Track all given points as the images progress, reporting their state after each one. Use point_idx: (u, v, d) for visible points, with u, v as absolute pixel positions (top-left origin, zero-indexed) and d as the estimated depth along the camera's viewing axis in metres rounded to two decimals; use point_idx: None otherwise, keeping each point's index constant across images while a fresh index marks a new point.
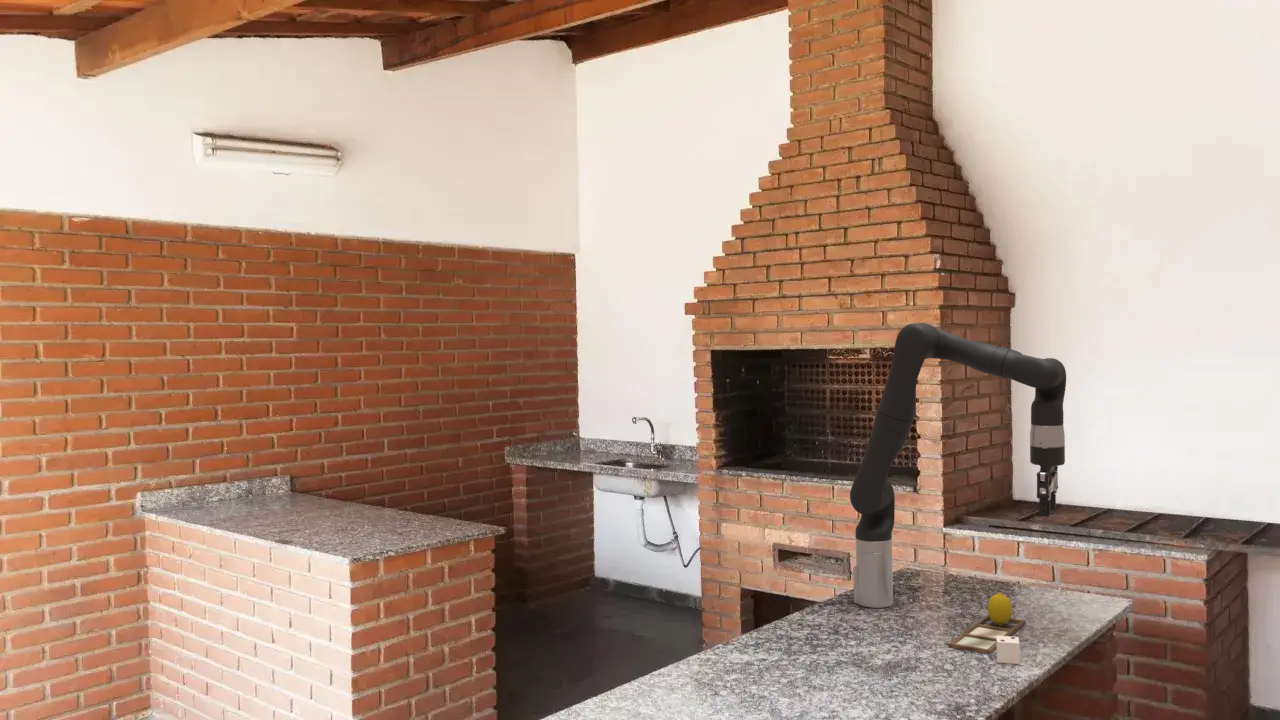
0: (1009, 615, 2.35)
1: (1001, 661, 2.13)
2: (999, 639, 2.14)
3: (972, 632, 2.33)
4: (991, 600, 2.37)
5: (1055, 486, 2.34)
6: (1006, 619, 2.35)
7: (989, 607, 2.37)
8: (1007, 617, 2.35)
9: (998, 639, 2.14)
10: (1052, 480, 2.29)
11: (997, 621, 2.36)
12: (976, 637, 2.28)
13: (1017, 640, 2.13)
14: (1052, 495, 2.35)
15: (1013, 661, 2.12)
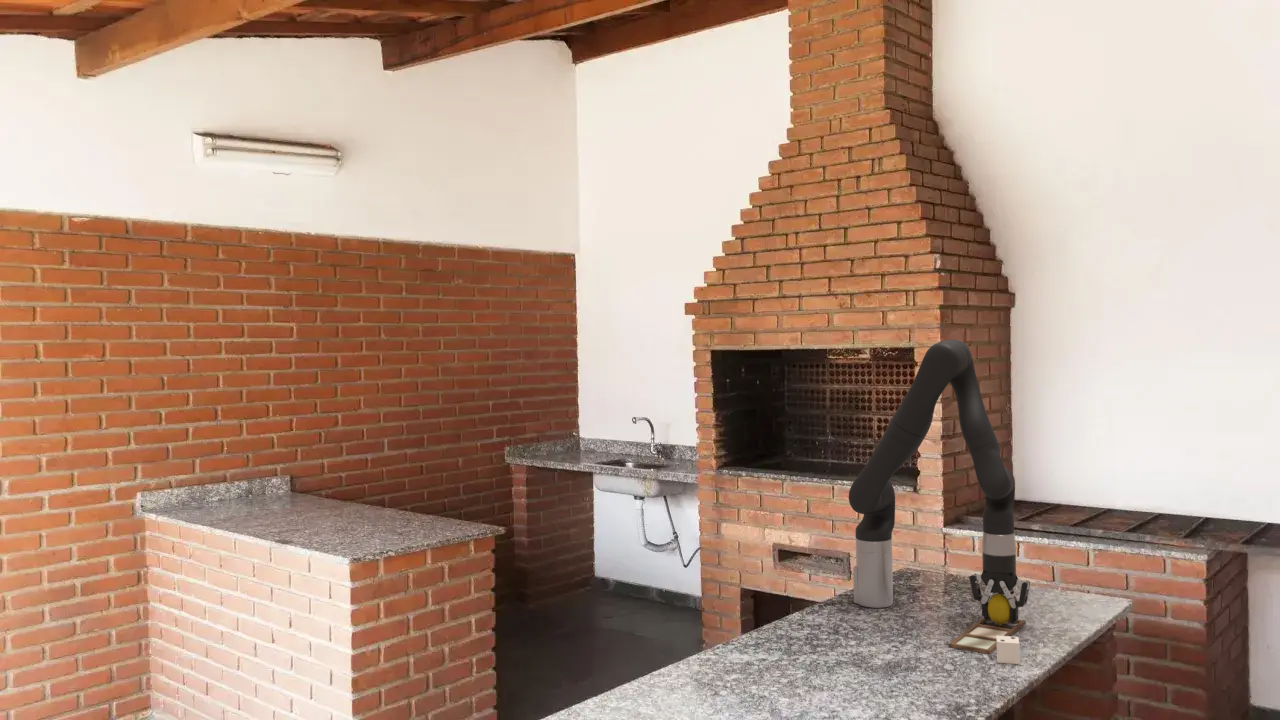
0: (1009, 615, 2.35)
1: (1001, 661, 2.13)
2: (999, 639, 2.14)
3: (972, 632, 2.33)
4: (991, 600, 2.37)
5: (992, 592, 2.40)
6: (1006, 619, 2.35)
7: (989, 607, 2.37)
8: (1007, 617, 2.35)
9: (998, 639, 2.14)
10: None
11: (997, 621, 2.36)
12: (976, 637, 2.28)
13: (1017, 640, 2.13)
14: None
15: (1013, 661, 2.12)
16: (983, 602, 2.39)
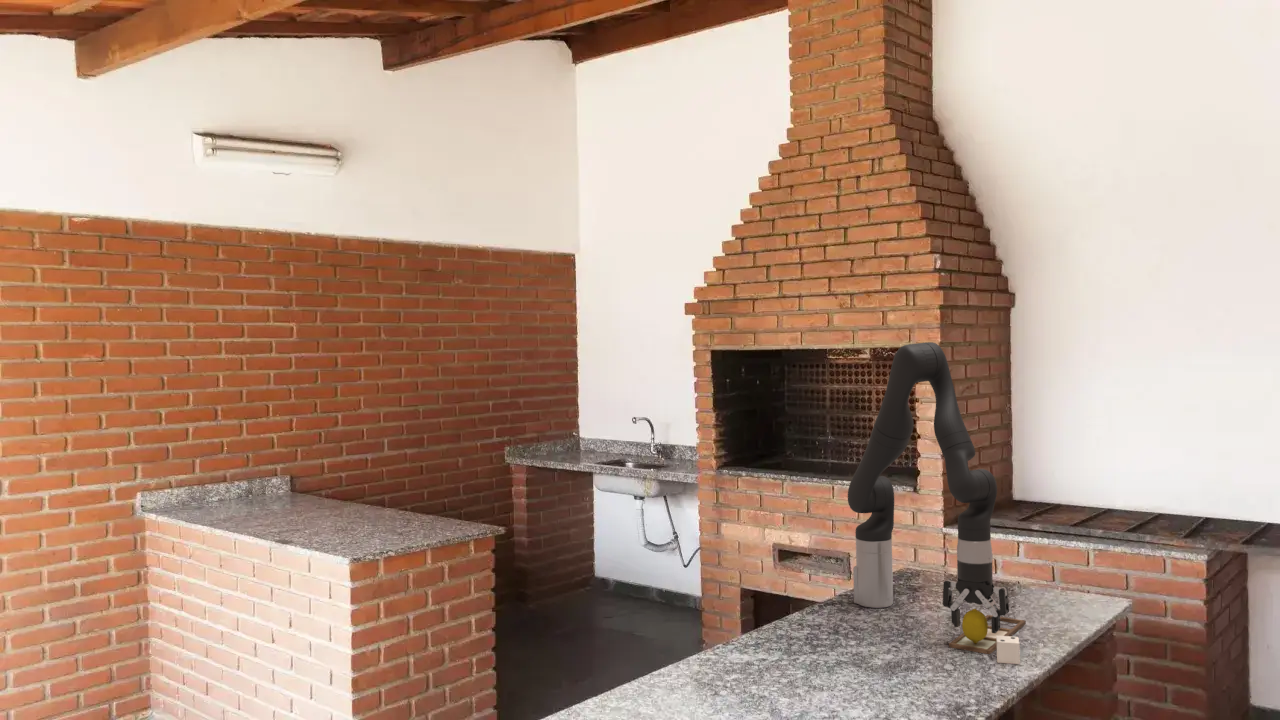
0: (984, 632, 2.22)
1: (1001, 661, 2.13)
2: (999, 639, 2.14)
3: None
4: (965, 616, 2.24)
5: (964, 600, 2.27)
6: (981, 637, 2.22)
7: (963, 624, 2.24)
8: (982, 634, 2.22)
9: (998, 639, 2.14)
10: None
11: (972, 639, 2.23)
12: None
13: (1017, 640, 2.13)
14: (959, 611, 2.27)
15: (1013, 661, 2.12)
16: (953, 609, 2.26)
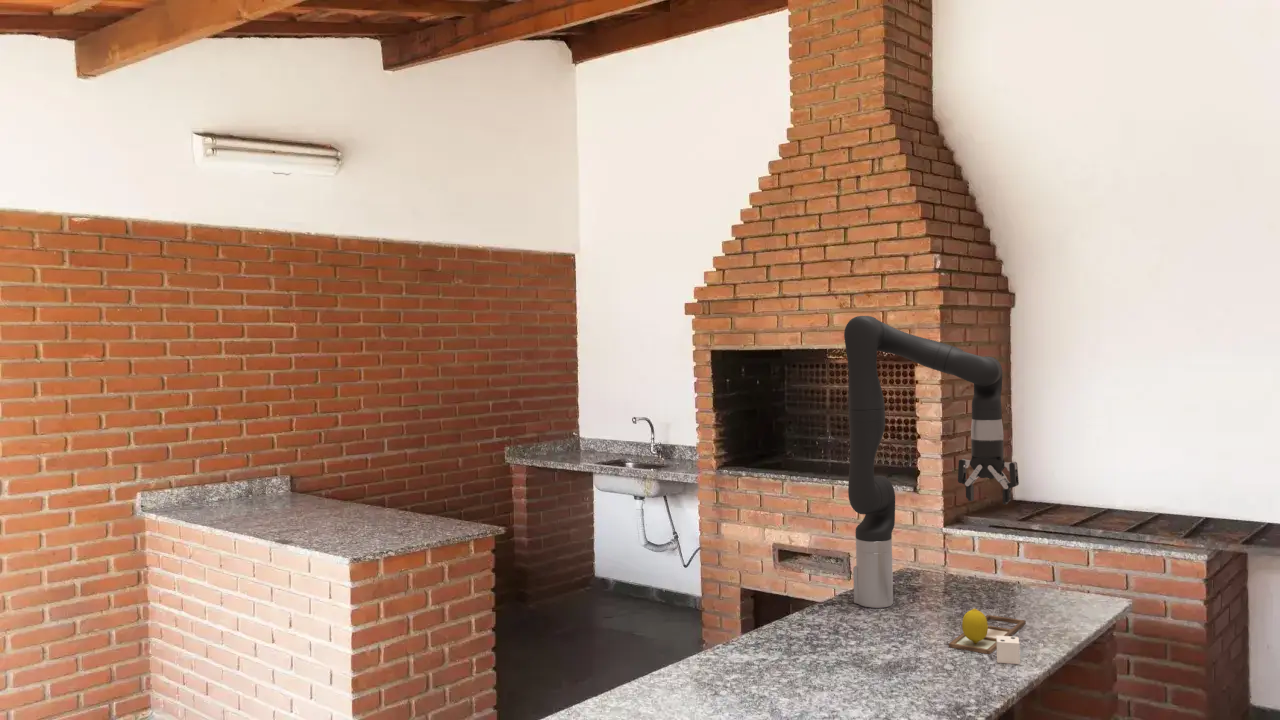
0: (984, 632, 2.22)
1: (1001, 661, 2.13)
2: (999, 639, 2.14)
3: None
4: (965, 616, 2.24)
5: (977, 477, 2.49)
6: (981, 637, 2.22)
7: (963, 624, 2.24)
8: (981, 634, 2.22)
9: (998, 639, 2.14)
10: None
11: (971, 639, 2.23)
12: None
13: (1017, 640, 2.13)
14: (972, 486, 2.49)
15: (1013, 661, 2.12)
16: (967, 484, 2.48)
